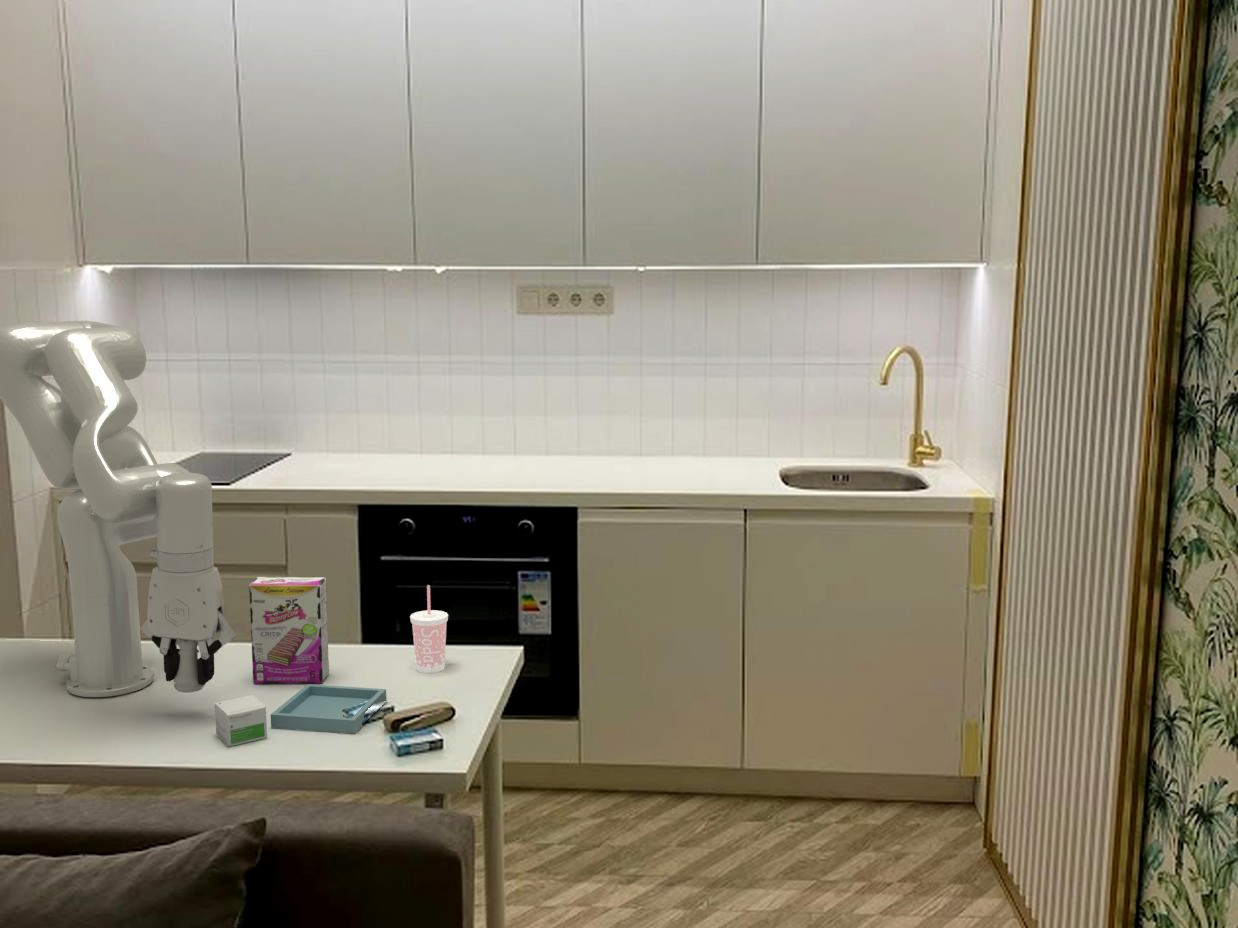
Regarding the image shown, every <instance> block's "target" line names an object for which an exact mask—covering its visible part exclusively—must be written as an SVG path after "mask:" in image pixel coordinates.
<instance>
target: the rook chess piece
mask: <svg viewBox="0 0 1238 928" xmlns="http://www.w3.org/2000/svg"><path fill="white" fill-rule="evenodd" d="M176 643H177V647H179V649H180V651H179V652H178V653H179V654H180V664H179V669H178V671H177V675H176V676H175V677H174V679H173V681H174V684H173V688H174V689H175V691H177V692H179V693H183V694H184V693H187V694H188V693H189V694H190V693H196V692H198V691H201V690H203V688H204V687H205V686H206V683H205V684H204V685H199V684H198V670H197V660H198V659H199V658H198V653H200V650H199V648H198V642H197V641H189V640H180V639H178V641H177V642H176Z"/></svg>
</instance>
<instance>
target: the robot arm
mask: <svg viewBox="0 0 1238 928" xmlns="http://www.w3.org/2000/svg"><path fill="white" fill-rule="evenodd" d="M146 366H147V353H146V349H145V347H144V344H143V343H142V341H141V339H140V338H139V336H138V335H137V334H135V332H133V331H132V330H131V329H129V328H127V327H126V326H121V325H115V324H109V323H105V322H104V323H103V322H99V321H93V320H70V321H69V320H67V321H62V320H61V321H38V322H37V321H36V322H33V321H32V322H21V323H14V324H9V325H5V326H2V327H0V401H1V402H2V403H3V405H4V406H5V407H6V408H7V409H8V410H9V412H10V413H11V414H12V416H13V417H14V418H15V419H16V421H17V422H18V424H19V426H20V428H21V429H22V432H23V434H24V436H25V438H26V440H27V442H28V444H29V446H30V448H31V450H32V452H33V454H34V456H35V458H36V460H37V462H38V464H39V466H40V469H41V470H42V472H43V474H44V476H45V477H46V479H47V480H48V482H49V483H50V484H51V485H52V486H53V487H54V488H57V489H59V490H67V491H68V490H75V491H73V492H70V493H69V494H68V495H66V496H65V497H64V498H63V499H62V500H61V502H60V503H59V506H58V509H57V517H56V518H57V525H58V529H59V532H60V534H61V535H60V536H61V539H62V542H63V546H64V549H65V555H66V559H67V566H68V576H69V578H68V579H69V588H70V589H69V590H70V599H71V601H70V602H71V611H72V624H73V625H72V628H73V636H74V637H73V638H74V640H73V641H74V652H75V655H73V654H59V656H58V658H57V663H56V664H55V670H56V671H58V672H69V673H70V677H69V679H68V680H66V689H67V690H66V691H68V692H69V693H70V694H72V695H74V696H78V697H83V698H108V697H116V696H121V695H126V694H130V693H133V692H135V691H138V690H141V689H143V688H146V687H147V686H149V685H150V684H152V682H154V680H155V679H154V678H155V673H154V670H153V669H152V668H151V667H148V666H146V665H143V653H142V652H143V651H142V642H141V641H142V639H141V632H142V634H144V635H145V636H146V637H148V638H149V639H151V641H152V642H153V644H155V646H156V647H157V648H158V650H159V653H160V654H161V655H162V656H163V671H164V673H165V681H166V682H172V681H174V677H175V676H176V675H177V671H178V669H179V664H180V654H179V653H178V652H179V651H180V648H178V645H177V643H176V642H177V641H178V640H179V639H180V640H189V641H197V642H198V645H197V647H198V650H199V654H200V657H199V658H198V660H197V670H198V684H199V685H204V684H205V683H208V682H210V681H211V680H213V678H214V675H215V654H216V653H218V651H219V650H221V648H223V646H225V645H227V644H228V643H230V642H231V641H233V640H235V638H236V633H235V632H234V629H232V627H231V626H230V623H228V622H227V620H226V611H225V608H226V607H225V606H226V605H225V596H224V591H223V584H222V580H221V575H220V572H219V569H218V567H216V566H215V565H214V560H215V559H214V530H213V529H214V527H213V526H214V523H213V522H214V521H213V489H212V487H213V486H212V483H211V479H209V477H207V476H206V475H205V474H201V473H196V472H190V471H189V470H188V469H186V468H184V466H181V465H180V464H178V463H177V464H176V463H173V462H172V463H170V462H169V463H168V462H167V463H166V462H165V463H158V462H157V460H156V458H155V455H154V454H153V452H152V450H151V448H150V447H149V445H148V442H146V440H145V438H144V437H143V436H142V434H141V433H140V432H139V431H137V430H136V429H135V428H133V427H132V426H129V425H130V424H131V423H132V422H133V420H134V419H135V417H136V416H137V414H138V409H139V408H138V407H139V406H138V402H137V400H136V398H135V397H134V395H133V394H132V392H131V389H129V387H128V385H127V384H126V382H125V381H131V380H135V379H136V378H139V377H140V376H141V375H142V374H143V372H144V370H146ZM46 376H47V377H49V376H50V377H51V376H52V377H53V379H54V380H55V382H56V384H57V386H58V387H59V388H58V387H56V386H55V385H53V384H52V383H49V382H48V381H46V380H45V379H44V378H43V377H46ZM152 538H153V539H154V538H157V539H156V543H157V544H156V545H157V547H156V548H151V550H150V553H149V555H150V558H153V559H155V560H156V565H157V566H156V567H154V568H152V572H151V576H150V581H149V587H148V596H147V612H146V613H147V614H146V615H147V616H146V617H147V618H146V620H145V621H144V623H143V624H142V626H140V625H141V623H140V610H139V609H140V608H139V607H140V606H139V598H138V594H139V593H138V579H137V573H136V570H135V567H134V565H133V564H132V563H131V561H130V560H129V559H128V557H126V555H125V553H123V552H122V551H121V548H120V547H121V546H123V545H125V544H129V543H134V542H140V541H144V540H149V539H152ZM216 633H219V634H220V637H218V638H217V639H216V638H215V637H216V636H215V635H216ZM205 685H206V684H205ZM205 685H204V686H205Z"/></svg>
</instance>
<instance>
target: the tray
mask: <svg viewBox="0 0 1238 928" xmlns="http://www.w3.org/2000/svg"><path fill="white" fill-rule="evenodd" d="M365 701H368V702H367V703H366V704H365V705H364V706H363V707H362V708H361V709H360V710H359V711H358V712H357V713H356V714H355V715H354V716H353V717H352V718H345V717H343V714H342V710H343V709H344V708H347V707H353V706H354V705H358V704H360V703H364V702H365ZM376 701H387V689H386V688H373V687H358V686H356V687H355V686H341V685H325V684H314V683H306V685H304V687H302V688H301V689H300V690H298V691H297V692H296V693H295V694H294V695H293V696H291V697H290V698H289V699H288V700H286V701H285V702H284V703H283V704H281V705H280V706H279V707H278V708H277V709H275V710H274V711H273V712H272V713H271V714H270V728H271V729H281V730H282V729H283V730H295V731H296V730H297V731H310V732H322V733H323V732H324V733H325V732H326V733H336V734H337V733H338V734H339V733H340V734H351V735H355V734H356V733H357V732H358V731H360V729H361V728H362V727H363V726H362V721H363V718H364V714H365V712H366V711H367V710H368V708H370V707H371V706H372V705H373V704H374V703H375V702H376Z"/></svg>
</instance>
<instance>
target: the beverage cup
mask: <svg viewBox="0 0 1238 928" xmlns="http://www.w3.org/2000/svg"><path fill="white" fill-rule="evenodd" d="M426 597H427V598H426V601H427V607H426V608H427V609H426V610H421V611H416V612H413V613H411V614H410V616H409V619H410V623H411V624H412V625H411V627H412V636H413V639H412V640H413V646H414V647H413V648H414V658H415V659H414V661H415V670H416V671H417V672H418V673H423V674H434V673H438V672H441V671H443V670H445V665H446V643H447V642H446V641H447V622H448V620H449V614H448V612H445V611H443V610H436V609H435V610H434V609H432V610H431V585H429V584H427V585H426Z"/></svg>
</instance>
